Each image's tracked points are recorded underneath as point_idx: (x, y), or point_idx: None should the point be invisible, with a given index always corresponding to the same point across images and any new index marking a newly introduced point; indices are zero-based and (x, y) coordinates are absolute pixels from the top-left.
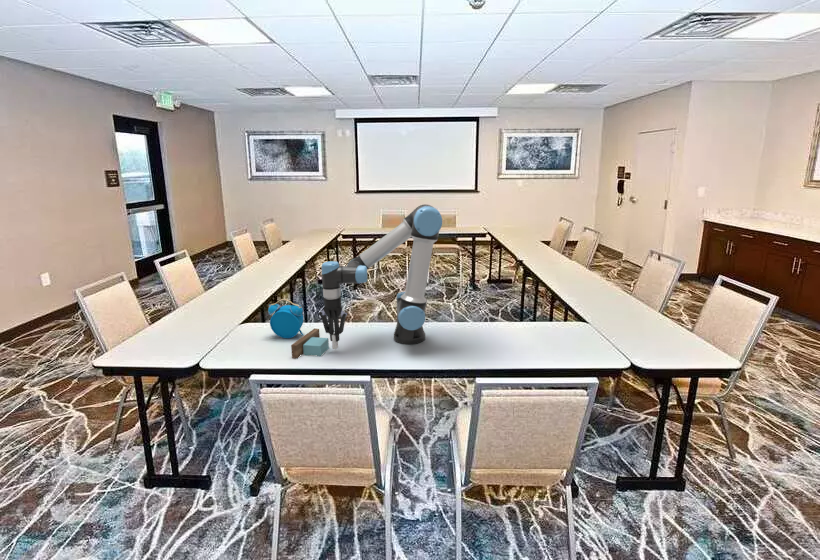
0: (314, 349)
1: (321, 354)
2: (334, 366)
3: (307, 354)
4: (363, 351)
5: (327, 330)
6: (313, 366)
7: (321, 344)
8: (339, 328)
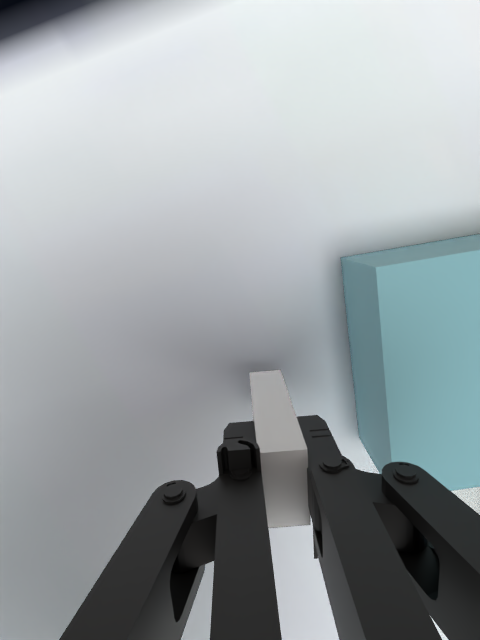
0: (430, 251)
1: (345, 272)
2: (103, 79)
3: (475, 235)
4: (53, 456)
5: (401, 492)
6: (295, 4)
7: (386, 317)
8: (157, 559)
